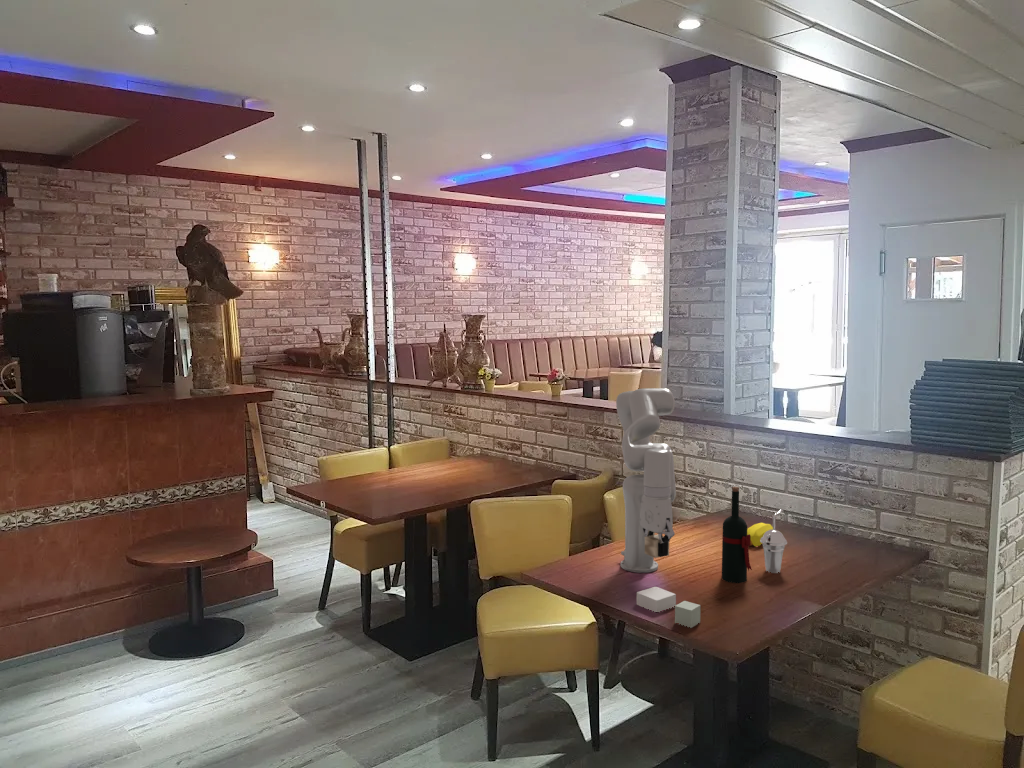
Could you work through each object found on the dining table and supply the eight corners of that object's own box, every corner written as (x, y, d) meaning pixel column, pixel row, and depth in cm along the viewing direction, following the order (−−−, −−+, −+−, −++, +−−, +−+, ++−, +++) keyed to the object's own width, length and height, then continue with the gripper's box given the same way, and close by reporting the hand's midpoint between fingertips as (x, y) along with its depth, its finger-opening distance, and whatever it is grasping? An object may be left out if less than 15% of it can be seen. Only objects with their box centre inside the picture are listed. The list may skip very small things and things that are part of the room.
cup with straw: (754, 567, 250) (755, 509, 248) (778, 565, 252) (779, 507, 250) (769, 576, 241) (770, 515, 240) (793, 573, 244) (794, 513, 242)
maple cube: (644, 553, 217) (644, 536, 217) (658, 551, 219) (658, 534, 219) (655, 557, 213) (655, 540, 212) (669, 555, 215) (669, 538, 215)
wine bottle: (742, 587, 232) (743, 492, 229) (716, 578, 240) (717, 486, 238) (758, 582, 236) (759, 489, 234) (732, 573, 245) (733, 483, 242)
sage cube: (674, 623, 205) (675, 605, 205) (684, 617, 209) (684, 600, 208) (691, 628, 202) (691, 610, 201) (700, 622, 205) (700, 605, 205)
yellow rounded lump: (737, 546, 274) (757, 550, 269) (737, 528, 274) (757, 532, 269) (759, 535, 287) (778, 539, 282) (759, 518, 287) (779, 522, 282)
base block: (636, 605, 219) (636, 592, 218) (655, 599, 223) (655, 586, 223) (656, 614, 212) (656, 600, 212) (675, 607, 217) (675, 594, 217)
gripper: (629, 487, 221) (628, 547, 222) (665, 498, 205) (664, 563, 207) (649, 485, 224) (649, 544, 225) (686, 495, 209) (686, 559, 210)
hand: (656, 552), depth 216 cm, fingers closed on maple cube, 4 cm apart
